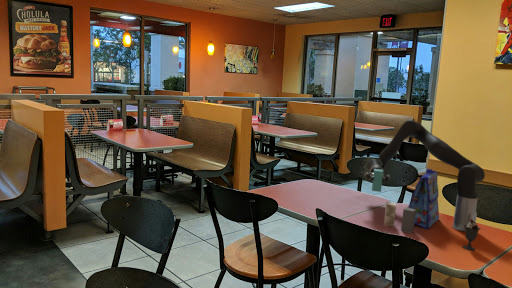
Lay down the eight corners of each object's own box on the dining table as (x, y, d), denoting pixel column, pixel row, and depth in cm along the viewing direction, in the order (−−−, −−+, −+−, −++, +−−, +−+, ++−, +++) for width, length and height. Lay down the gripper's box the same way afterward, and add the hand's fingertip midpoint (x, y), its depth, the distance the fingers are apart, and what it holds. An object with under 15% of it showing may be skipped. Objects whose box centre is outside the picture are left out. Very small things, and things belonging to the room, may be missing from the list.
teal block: (380, 189, 222) (382, 169, 220) (380, 191, 217) (383, 171, 215) (371, 188, 223) (374, 168, 221) (372, 190, 218) (374, 170, 216)
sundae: (462, 244, 189) (467, 212, 186) (478, 248, 185) (483, 216, 182) (458, 248, 184) (463, 216, 181) (475, 252, 179) (480, 220, 177)
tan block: (393, 223, 210) (395, 203, 209) (393, 226, 206) (396, 205, 204) (384, 222, 212) (386, 201, 210) (384, 225, 207) (386, 204, 205)
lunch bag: (429, 230, 205) (436, 174, 200) (401, 222, 213) (408, 168, 208) (439, 219, 222) (447, 167, 217) (414, 213, 230) (420, 163, 225)
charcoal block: (413, 230, 202) (416, 209, 200) (410, 233, 198) (412, 211, 197) (404, 228, 205) (406, 207, 203) (400, 230, 201) (403, 209, 199)
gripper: (364, 164, 234) (364, 171, 217) (390, 167, 230) (392, 174, 214) (363, 177, 235) (363, 184, 218) (389, 180, 232) (391, 188, 215)
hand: (377, 179), depth 216 cm, fingers closed on teal block, 4 cm apart
